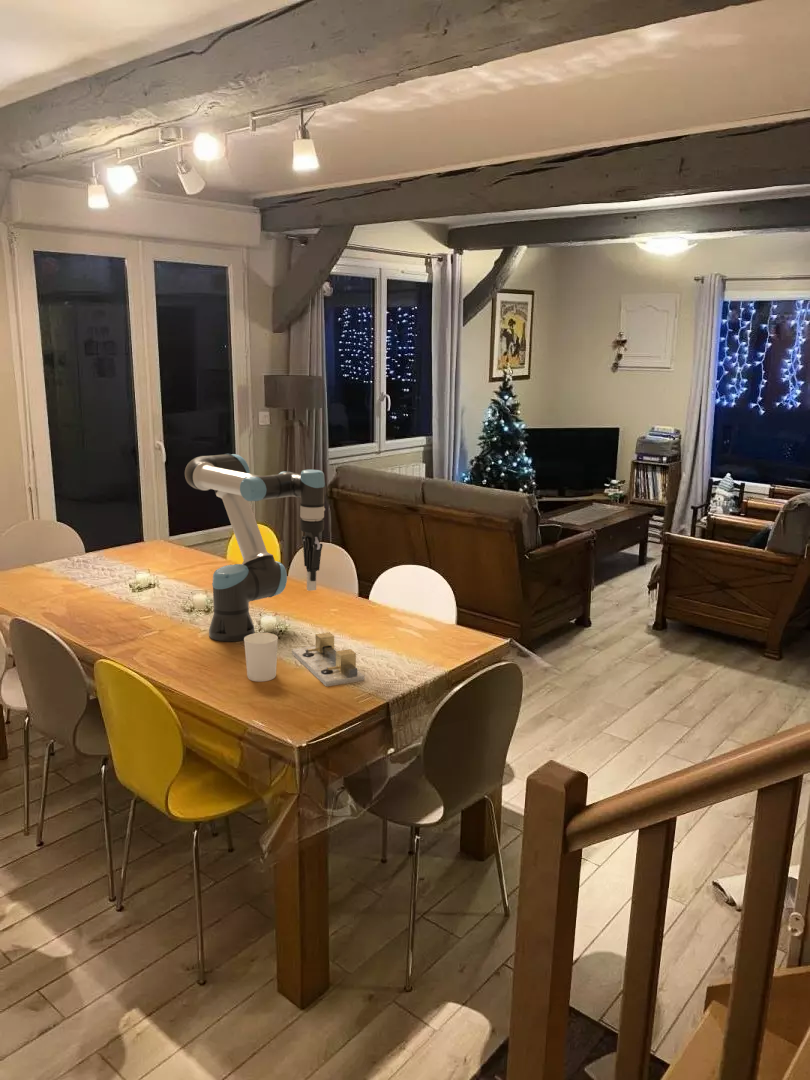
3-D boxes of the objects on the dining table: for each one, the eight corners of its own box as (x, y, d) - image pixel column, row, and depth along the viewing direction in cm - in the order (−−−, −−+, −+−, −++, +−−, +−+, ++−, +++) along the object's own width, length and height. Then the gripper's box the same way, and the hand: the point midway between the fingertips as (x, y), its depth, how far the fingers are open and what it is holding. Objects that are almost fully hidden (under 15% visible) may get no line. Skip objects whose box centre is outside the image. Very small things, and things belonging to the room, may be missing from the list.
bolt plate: (326, 686, 236) (326, 664, 235) (292, 653, 262) (291, 633, 261) (364, 680, 242) (364, 658, 240) (327, 648, 268) (327, 628, 266)
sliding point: (307, 654, 256) (307, 639, 255) (303, 650, 260) (303, 635, 259) (334, 651, 260) (334, 635, 259) (329, 647, 264) (329, 632, 263)
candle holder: (280, 670, 248) (279, 632, 245) (276, 682, 238) (275, 643, 236) (247, 670, 248) (246, 632, 245) (242, 682, 238) (241, 643, 235)
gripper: (330, 522, 258) (329, 594, 263) (316, 514, 269) (315, 583, 275) (308, 523, 255) (307, 596, 260) (294, 515, 266) (294, 585, 271)
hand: (311, 589), depth 267 cm, fingers closed
